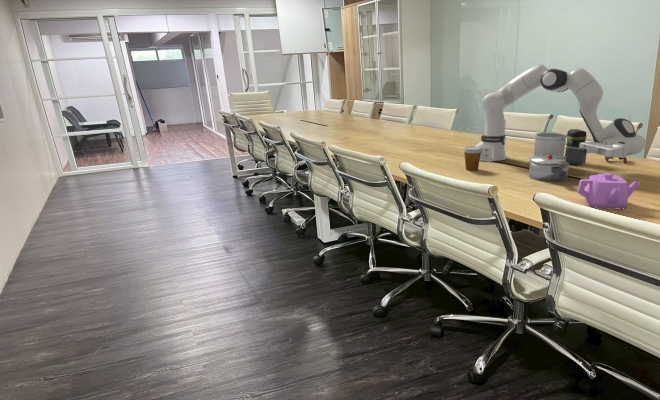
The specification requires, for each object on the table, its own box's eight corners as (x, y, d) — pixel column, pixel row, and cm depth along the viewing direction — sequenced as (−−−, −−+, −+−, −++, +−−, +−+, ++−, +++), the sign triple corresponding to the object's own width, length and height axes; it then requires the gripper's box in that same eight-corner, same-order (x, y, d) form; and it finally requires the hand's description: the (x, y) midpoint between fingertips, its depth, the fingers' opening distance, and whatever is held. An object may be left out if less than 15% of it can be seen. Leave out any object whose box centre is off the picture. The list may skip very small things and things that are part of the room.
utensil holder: (565, 170, 219) (568, 136, 214) (533, 170, 225) (536, 136, 219) (561, 164, 233) (564, 132, 227) (531, 163, 238) (533, 132, 232)
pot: (522, 171, 224) (523, 156, 221) (557, 170, 221) (558, 155, 218) (541, 187, 195) (542, 170, 192) (581, 186, 192) (583, 169, 189)
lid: (521, 160, 211) (522, 145, 209) (543, 155, 219) (544, 140, 217) (572, 169, 190) (573, 152, 188) (594, 162, 199) (596, 146, 196)
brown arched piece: (624, 166, 222) (616, 152, 222) (606, 171, 231) (599, 157, 231) (634, 156, 228) (626, 143, 228) (616, 161, 236) (609, 148, 236)
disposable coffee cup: (481, 167, 236) (482, 146, 233) (481, 171, 228) (482, 149, 224) (463, 167, 240) (463, 146, 236) (462, 171, 231) (463, 149, 227)
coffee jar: (585, 165, 227) (589, 130, 222) (570, 166, 227) (574, 131, 222) (576, 161, 236) (580, 127, 231) (561, 162, 237) (565, 128, 231)
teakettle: (595, 195, 180) (599, 166, 177) (639, 204, 166) (644, 174, 162) (570, 203, 173) (574, 173, 169) (614, 214, 158) (619, 182, 155)
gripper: (595, 137, 208) (569, 140, 205) (630, 144, 188) (603, 147, 186) (593, 150, 209) (568, 153, 207) (628, 158, 190) (601, 161, 188)
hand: (585, 150), depth 196 cm, fingers closed
